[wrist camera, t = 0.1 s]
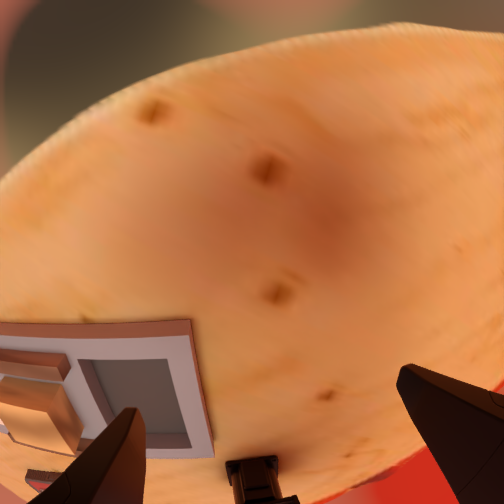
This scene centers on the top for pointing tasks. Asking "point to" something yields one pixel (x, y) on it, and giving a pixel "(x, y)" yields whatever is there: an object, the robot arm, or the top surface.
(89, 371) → the deck
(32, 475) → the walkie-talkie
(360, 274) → the top surface
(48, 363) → the channel
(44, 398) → the block
